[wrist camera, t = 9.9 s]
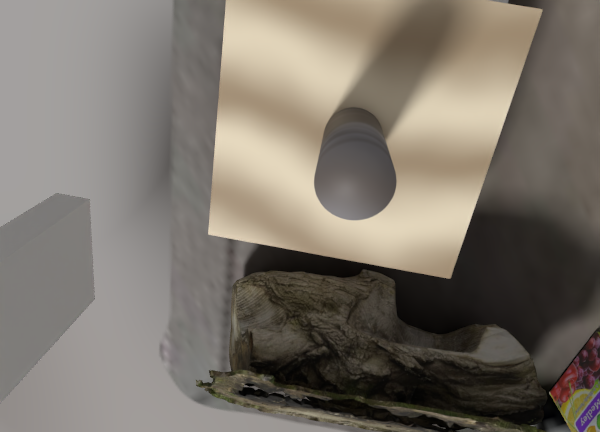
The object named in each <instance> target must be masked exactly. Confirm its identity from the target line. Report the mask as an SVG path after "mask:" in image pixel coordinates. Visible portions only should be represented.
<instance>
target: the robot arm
mask: <svg viewBox="0 0 600 432" xmlns="http://www.w3.org/2000/svg"><path fill="white" fill-rule="evenodd" d="M90 219H91V217H90V199H85V198H81V197H75V196H70V195H65V194H59V193H56V194H54V195H53V196H51V197H49V198H48V199H46V200H44V201H43V202H41V203H39V204H38V205H36V206H35V207H33V208H31V209H29V210H28V211H26V212H24V213H23V214H21V215H20V216H18V217H17V218H15V219H13V220H11V221H10V222H8V223H6V224H5V225H3V226H1V227H0V403H1V402H2V401H3V400H4V399H5V398H6V397H7V396H8V394H9V393H10V392H11V391H12V390H13V389H14V388H15V387H16V386H17V385H18V384H19V382H20V381H21V380H22V379H23V378H24V377H25V376H26V375H27V374H28V372H29V371H30V370H31V369H32V368H33V367H34V366H35V365H36V364H37V362H38V361H39V360H40V359H41V358H42V357H43V356H44V355H45V354H46V352H47V351H48V350H49V349H50V348H51V347H52V346H53V345H54V344H55V342H56V341H57V340H58V339H59V338H60V337H61V336H62V335H63V334H64V333H65V331H66V330H67V329H68V328H69V327H70V326H71V325H72V324H73V322H74V321H75V320H76V319H77V318H78V317H79V316H80V315H81V314H82V312H84V310H85V309H86V308H87V307H88V306H89V305H90V304H91V303H92V302H93V300H94V299H95V298H94V297H95V296H94V277H93V256H92V237H91V220H90Z"/></svg>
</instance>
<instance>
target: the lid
mask: <svg viewBox="0 0 600 432" xmlns="http://www.w3.org/2000/svg"><path fill="white" fill-rule="evenodd" d="M542 11H543V9H538V8H532V7H525V6H519V5H513V4H507V3H501V2H495V1H489V0H226V9H225V22H224V35H223V48H222V61H221V74H220V87H219V100H218V113H217V126H216V139H215V152H214V165H213V178H212V192H211V205H210V218H209V231H208V235H214V236H219V237H225V238H230V239H235V240H241V241H246V242H252V243H257V244H263V245H268V246H274V247H279V248H284V249H290V250H295V251H301V252H306V253H312V254H317V255H323V256H328V257H333V258H339V259H344V260H350V261H355V262H361V263H366V264H372V265H377V266H382V267H388V268H393V269H399V270H404V271H410V272H415V273H421V274H426V275H431V276H437V277H442V278H448V279H450V278H451V275H452V272H453V269H454V267H455V264H456V261H457V258H458V255H459V252H460V249H461V246H462V243H463V240H464V238H465V235H466V232H467V229H468V226H469V223H470V220H471V217H472V214H473V211H474V208H475V206H476V203H477V200H478V197H479V194H480V191H481V188H482V185H483V182H484V179H485V176H486V174H487V171H488V168H489V165H490V162H491V159H492V156H493V153H494V150H495V147H496V144H497V142H498V139H499V136H500V133H501V130H502V127H503V124H504V121H505V118H506V115H507V112H508V110H509V107H510V104H511V101H512V98H513V95H514V92H515V89H516V86H517V83H518V80H519V78H520V75H521V72H522V69H523V66H524V63H525V60H526V57H527V54H528V51H529V49H530V46H531V43H532V40H533V37H534V34H535V31H536V28H537V25H538V22H539V19H540V17H541V14H542Z"/></svg>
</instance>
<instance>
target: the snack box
mask: <svg viewBox="0 0 600 432" xmlns="http://www.w3.org/2000/svg"><path fill="white" fill-rule="evenodd" d="M549 393H550V394H551V396H552V398H553V400H554V402H555V403H556V405H557V407H558V409H559V410H560V412H561V414H562V416H563V417H564V419H565V421H566V423H567V425H568V426H569V428H570V430H571V432H600V332H597V331H596V332H595V333H594V335H593V336H592V337H591V339H590V340H589V341H588V343H587V344H586V345H585V347H584V348H583V349H582V351H581V352H580V353H579V354H578V356H577V357H576V358H575V360H574V361H573V362H572V364H571V365H570V366H569V368H568V369H567V370H566V372H565V373H564V374H563V376H562V377H561V378H560V380H559V381H558V382H557V383H556V385H555V386H554V387H553V388H552V389H551V390H550V392H549Z"/></svg>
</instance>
